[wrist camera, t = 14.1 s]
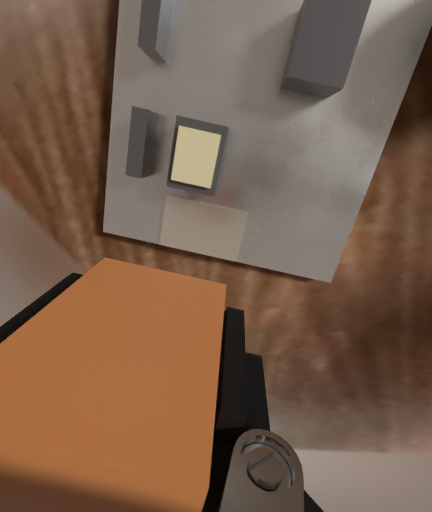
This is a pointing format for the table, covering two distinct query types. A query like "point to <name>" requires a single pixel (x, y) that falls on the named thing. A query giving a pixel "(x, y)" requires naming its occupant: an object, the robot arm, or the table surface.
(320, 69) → the toggle
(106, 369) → the cap
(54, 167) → the table surface
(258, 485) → the robot arm
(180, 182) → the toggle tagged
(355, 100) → the panel
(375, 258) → the table surface
